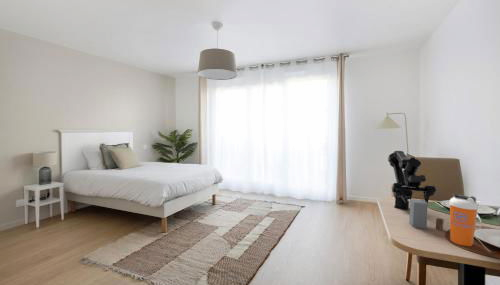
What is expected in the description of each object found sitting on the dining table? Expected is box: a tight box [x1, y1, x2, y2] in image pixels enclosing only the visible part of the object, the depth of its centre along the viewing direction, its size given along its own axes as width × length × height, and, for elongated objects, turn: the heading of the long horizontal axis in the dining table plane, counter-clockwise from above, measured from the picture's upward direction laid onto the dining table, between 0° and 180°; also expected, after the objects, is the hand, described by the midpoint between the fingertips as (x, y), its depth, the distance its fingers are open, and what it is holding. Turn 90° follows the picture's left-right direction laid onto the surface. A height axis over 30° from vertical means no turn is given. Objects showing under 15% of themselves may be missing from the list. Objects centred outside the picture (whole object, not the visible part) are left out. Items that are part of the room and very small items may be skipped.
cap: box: [408, 198, 429, 229], centre depth 115 cm, size 6×6×12 cm
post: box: [435, 217, 445, 231], centre depth 111 cm, size 2×2×5 cm
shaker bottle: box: [449, 193, 479, 247], centre depth 98 cm, size 9×9×20 cm
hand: (416, 203), depth 118 cm, fingers open, 9 cm apart
